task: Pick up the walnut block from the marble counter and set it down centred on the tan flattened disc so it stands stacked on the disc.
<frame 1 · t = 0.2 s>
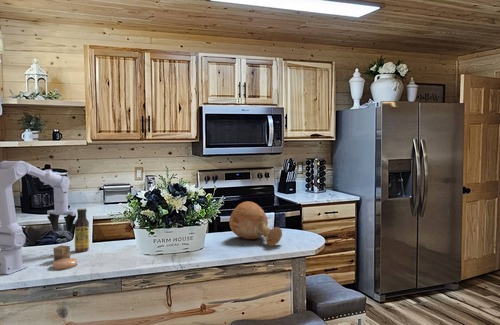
hand: (62, 230, 184), 10 cm above the table, fingers open, 7 cm apart
walnut block: (62, 260, 171), on the table
sauce bottle: (82, 251, 186), on the table
jug: (255, 241, 199), on the table
tan flattened disc: (65, 266, 164), on the table
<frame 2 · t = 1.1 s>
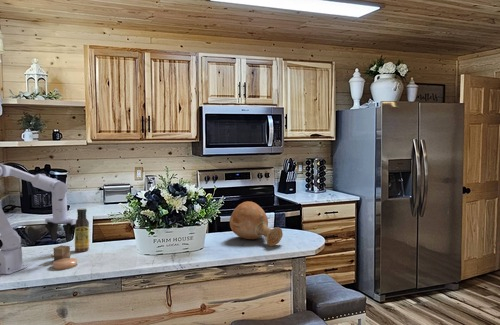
hand: (61, 240, 171), 9 cm above the table, fingers open, 7 cm apart
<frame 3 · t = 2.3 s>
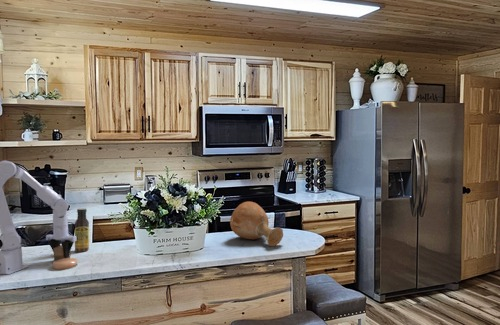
hand: (62, 256, 171), 2 cm above the table, fingers closed on walnut block, 4 cm apart
walnut block: (62, 260, 171), on the table, touching gripper
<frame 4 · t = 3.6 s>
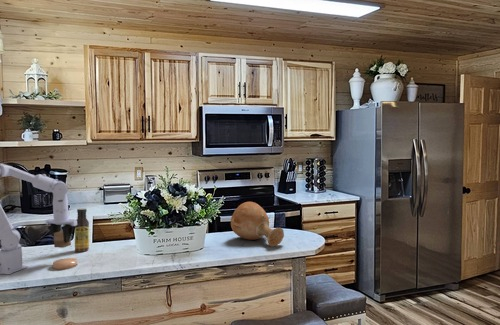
hand: (62, 241, 168), 9 cm above the table, fingers closed on walnut block, 4 cm apart
walnut block: (62, 246, 169), point 7 cm above the table, touching gripper
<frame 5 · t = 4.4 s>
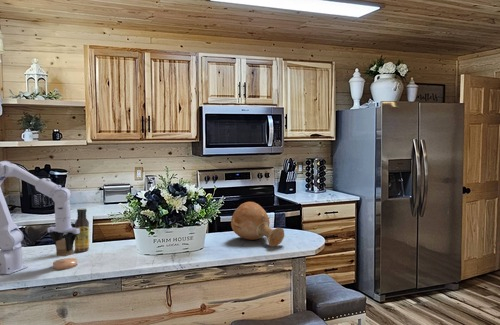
hand: (64, 250, 163), 7 cm above the table, fingers closed on walnut block, 4 cm apart
walnut block: (65, 254, 163), point 5 cm above the table, touching gripper
when the fingers open (5 cm above the table, at t = 5.2 s): walnut block stays where it is, resting on tan flattened disc.
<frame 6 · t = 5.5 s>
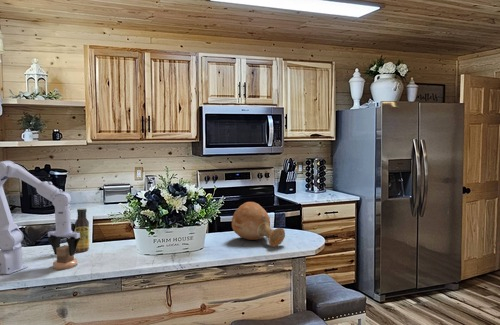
hand: (64, 254, 163), 5 cm above the table, fingers open, 7 cm apart
walnut block: (65, 261, 164), point 2 cm above the table, touching tan flattened disc
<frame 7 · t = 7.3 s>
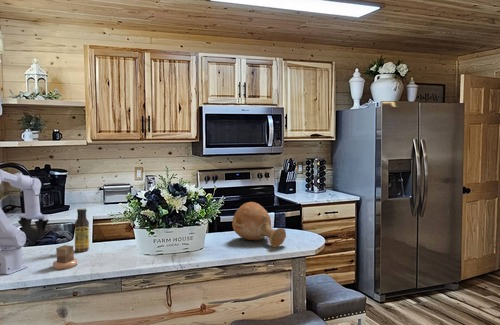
hand: (34, 235, 174), 10 cm above the table, fingers open, 7 cm apart
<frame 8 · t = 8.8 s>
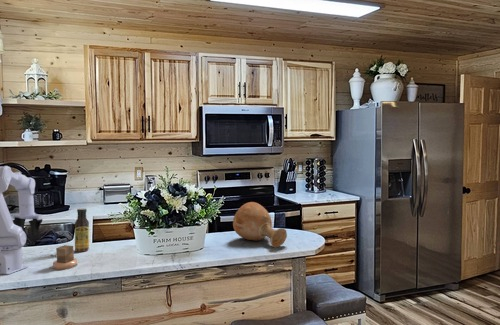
hand: (28, 235, 175), 10 cm above the table, fingers open, 7 cm apart
at the end: walnut block 0.2 cm off-centre on the tan flattened disc, point 2.0 cm above the tan flattened disc's base; walnut block tilted 0°; the gripper is holding nothing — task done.
